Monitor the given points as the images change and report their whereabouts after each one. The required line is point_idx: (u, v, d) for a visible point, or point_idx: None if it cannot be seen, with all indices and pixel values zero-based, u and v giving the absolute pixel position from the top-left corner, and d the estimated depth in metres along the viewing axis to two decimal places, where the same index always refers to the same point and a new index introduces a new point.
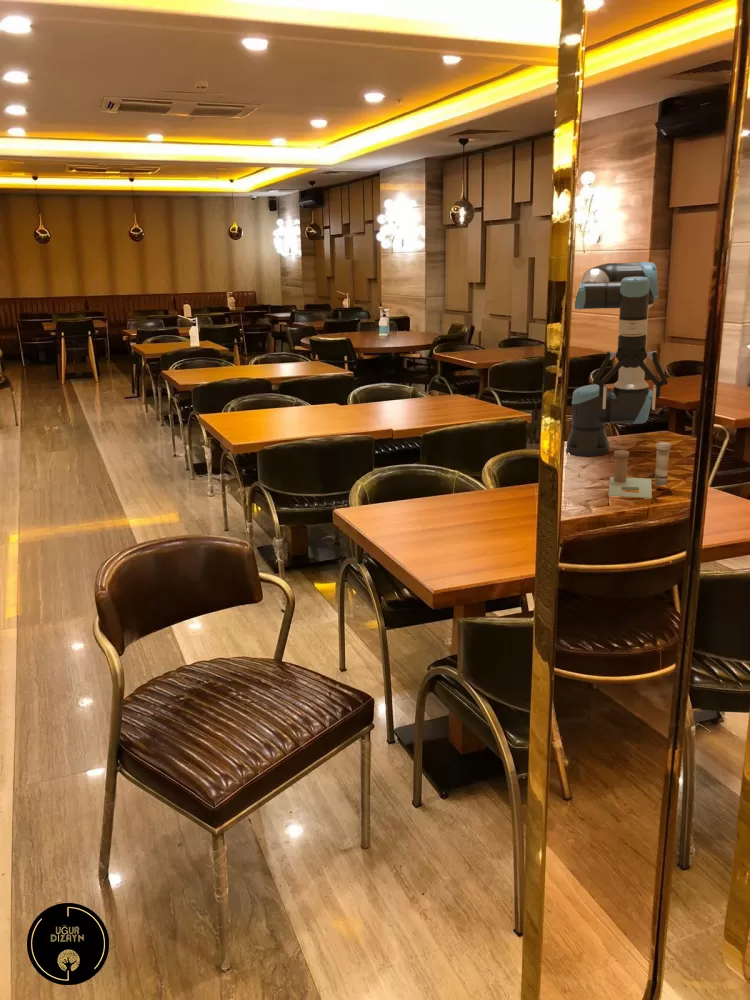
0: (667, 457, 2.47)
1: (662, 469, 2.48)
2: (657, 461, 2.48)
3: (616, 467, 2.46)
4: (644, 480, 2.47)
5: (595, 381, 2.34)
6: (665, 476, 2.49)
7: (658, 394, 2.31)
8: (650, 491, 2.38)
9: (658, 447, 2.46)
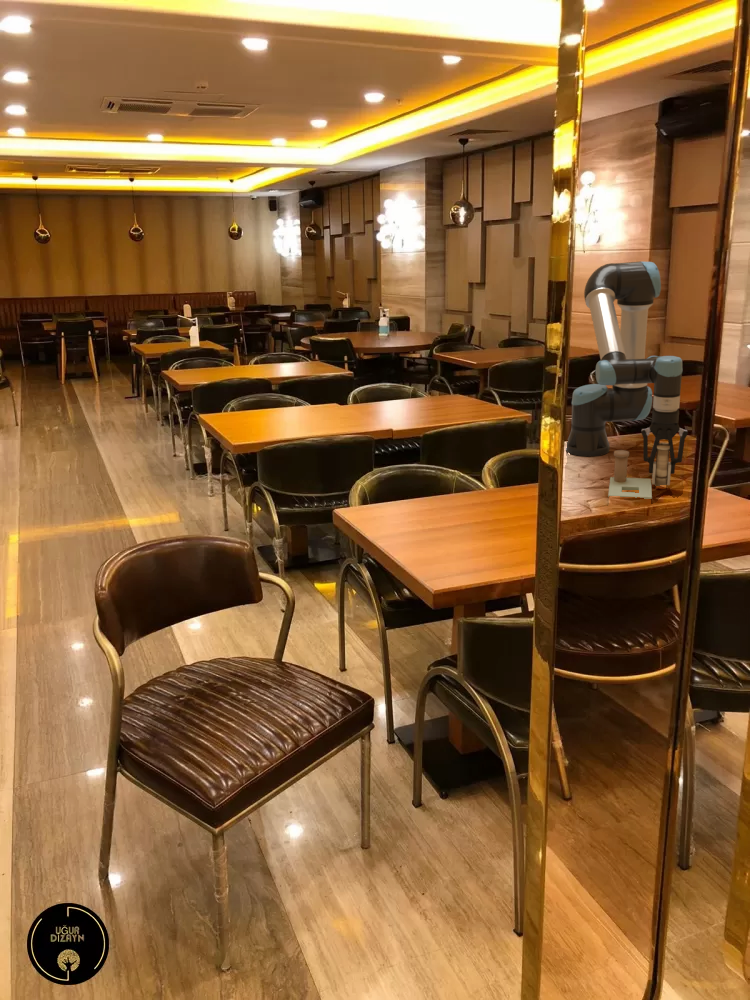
0: (667, 457, 2.47)
1: (662, 469, 2.48)
2: (657, 461, 2.48)
3: (616, 467, 2.46)
4: (644, 480, 2.47)
5: (645, 458, 2.49)
6: (665, 476, 2.49)
7: (673, 471, 2.48)
8: (650, 491, 2.38)
9: (658, 447, 2.46)
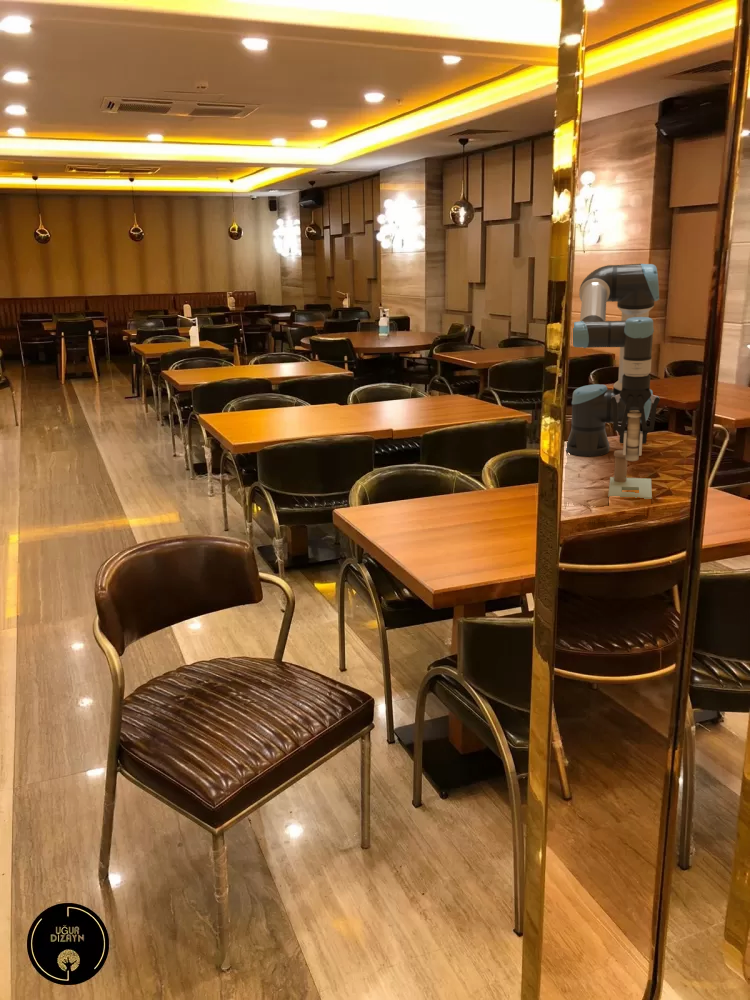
0: (638, 425, 2.32)
1: (633, 438, 2.33)
2: (627, 430, 2.33)
3: (616, 467, 2.46)
4: (644, 480, 2.47)
5: (615, 427, 2.34)
6: (636, 446, 2.34)
7: (645, 440, 2.33)
8: (650, 491, 2.38)
9: (629, 415, 2.31)
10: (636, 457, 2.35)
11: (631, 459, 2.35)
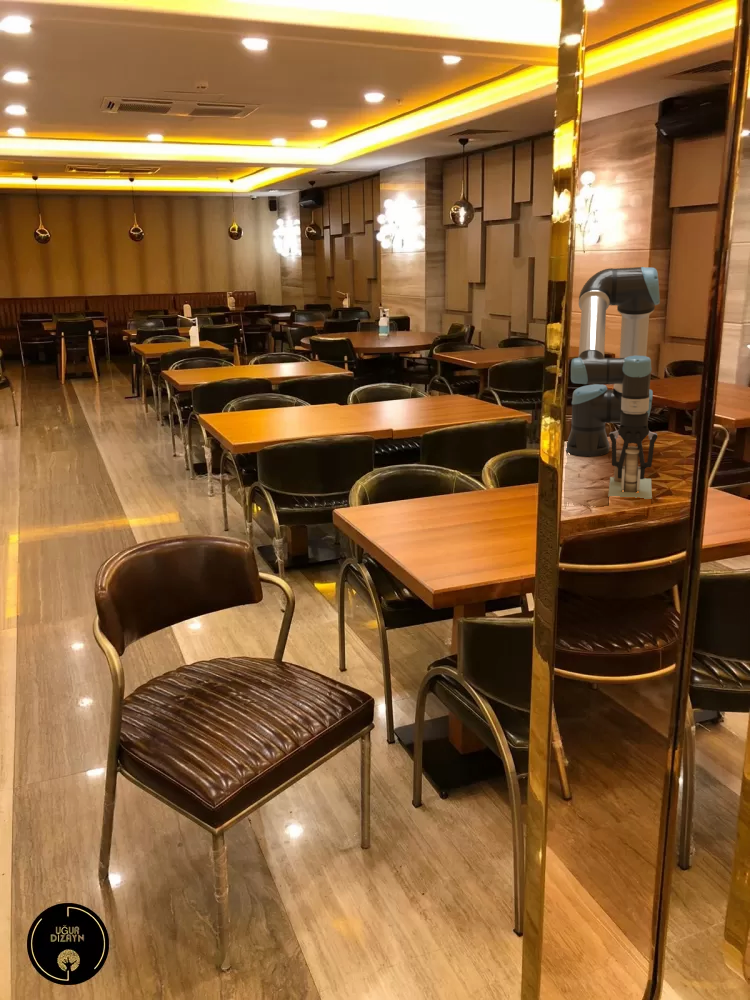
0: (636, 462, 2.36)
1: (631, 474, 2.37)
2: (626, 466, 2.37)
3: (616, 467, 2.46)
4: (644, 480, 2.47)
5: (613, 463, 2.38)
6: (634, 481, 2.38)
7: (642, 476, 2.37)
8: (650, 491, 2.38)
9: (627, 451, 2.35)
10: None
11: None
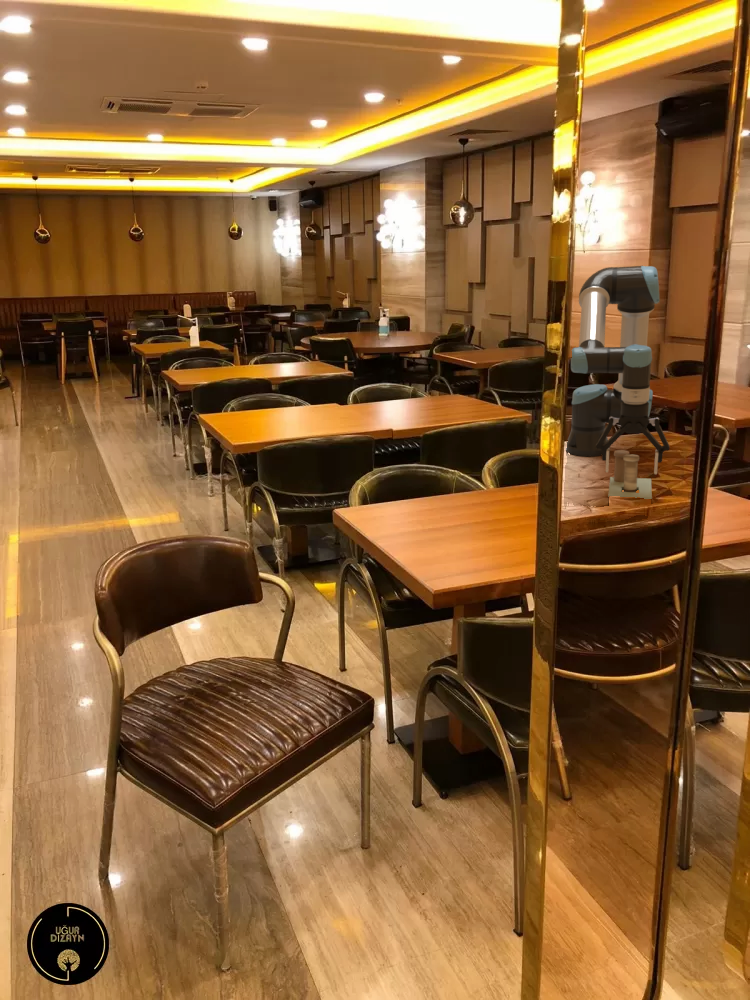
0: (635, 469, 2.37)
1: (630, 482, 2.38)
2: (625, 474, 2.38)
3: (616, 467, 2.46)
4: (644, 480, 2.47)
5: (598, 445, 2.38)
6: (634, 489, 2.39)
7: (660, 459, 2.34)
8: (650, 491, 2.38)
9: (626, 459, 2.37)
10: None
11: None
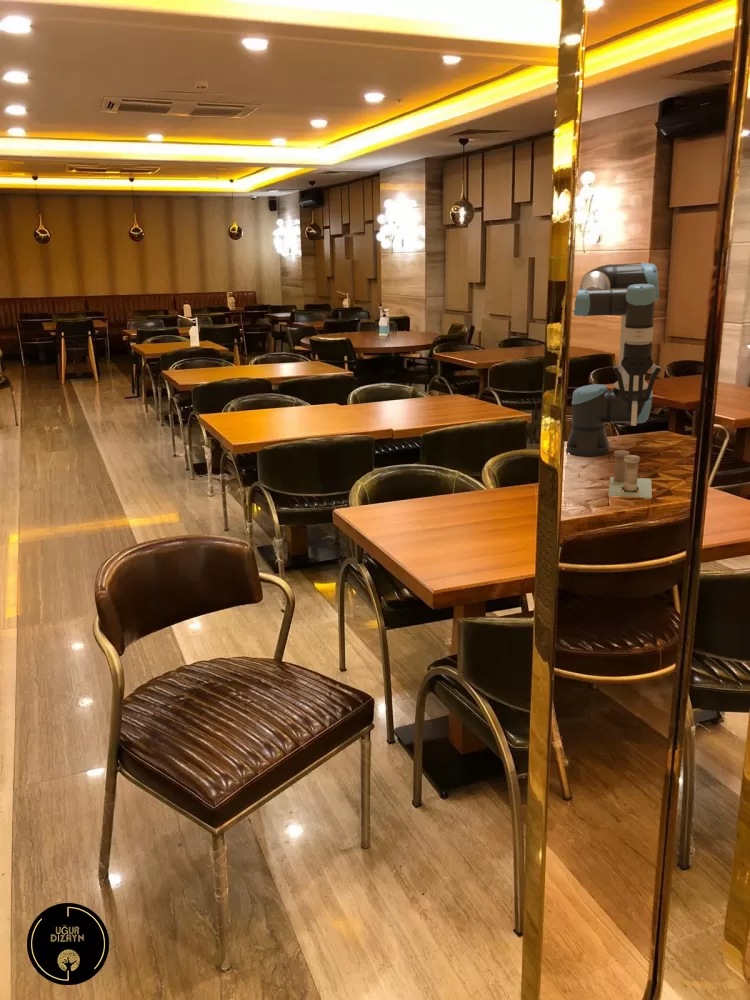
0: (636, 470, 2.37)
1: (630, 483, 2.38)
2: (625, 475, 2.38)
3: (616, 467, 2.46)
4: (644, 480, 2.47)
5: (623, 397, 2.31)
6: (634, 490, 2.38)
7: (639, 410, 2.31)
8: (650, 491, 2.38)
9: (626, 460, 2.36)
10: None
11: None
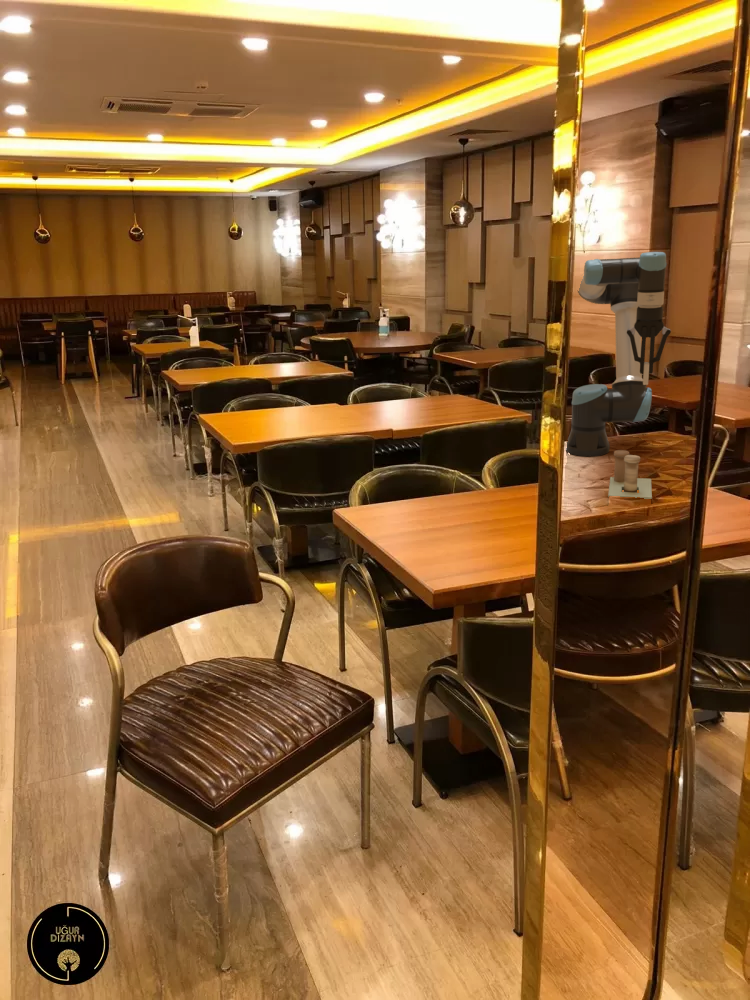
0: (636, 470, 2.37)
1: (630, 483, 2.38)
2: (625, 475, 2.38)
3: (616, 467, 2.46)
4: (644, 480, 2.47)
5: (636, 358, 2.49)
6: (634, 490, 2.38)
7: (651, 370, 2.49)
8: (650, 491, 2.38)
9: (626, 460, 2.36)
10: None
11: None
